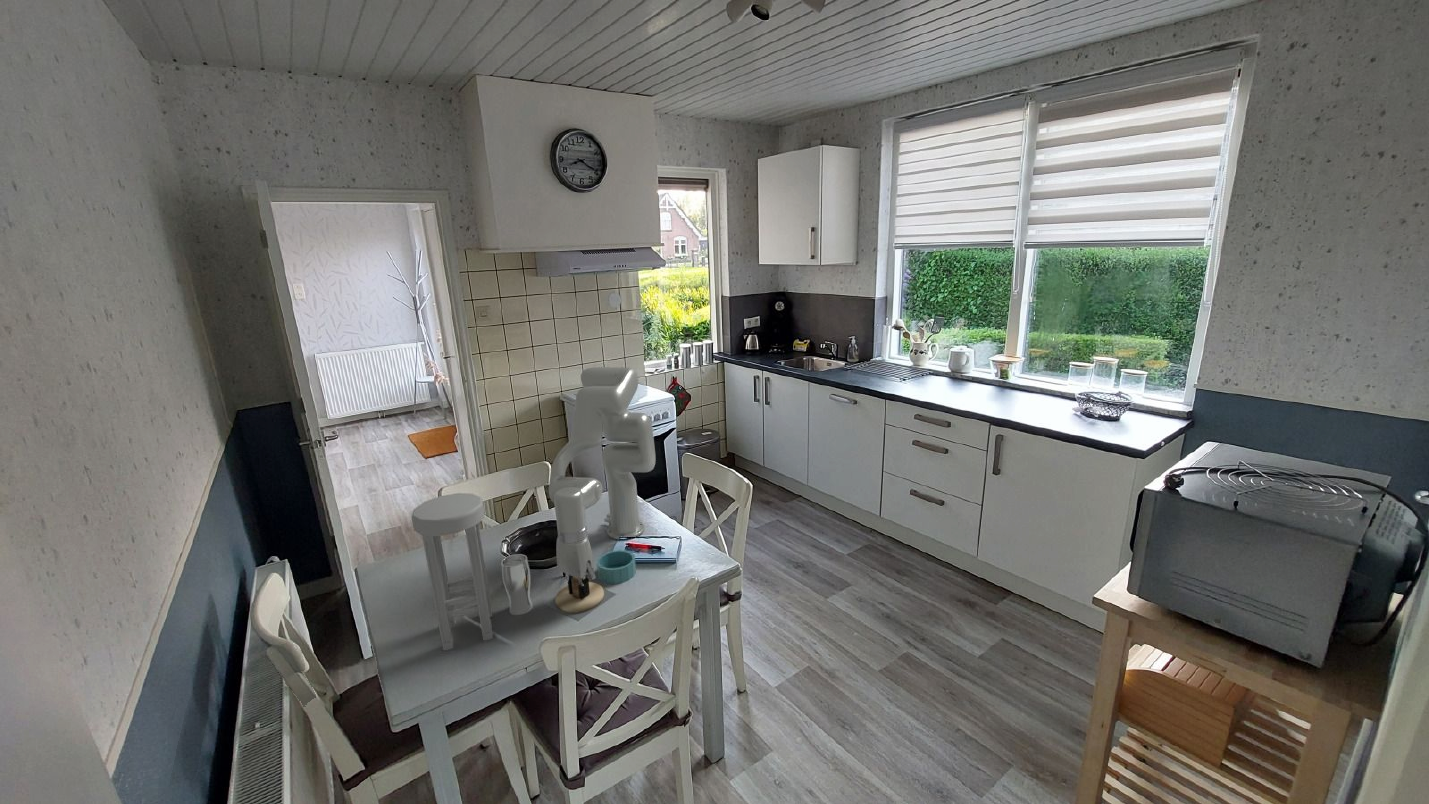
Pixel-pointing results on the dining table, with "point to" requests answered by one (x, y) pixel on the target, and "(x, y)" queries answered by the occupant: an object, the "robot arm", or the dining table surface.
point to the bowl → (616, 566)
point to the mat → (578, 616)
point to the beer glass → (517, 583)
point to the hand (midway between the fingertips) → (579, 593)
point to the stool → (432, 524)
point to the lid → (573, 601)
